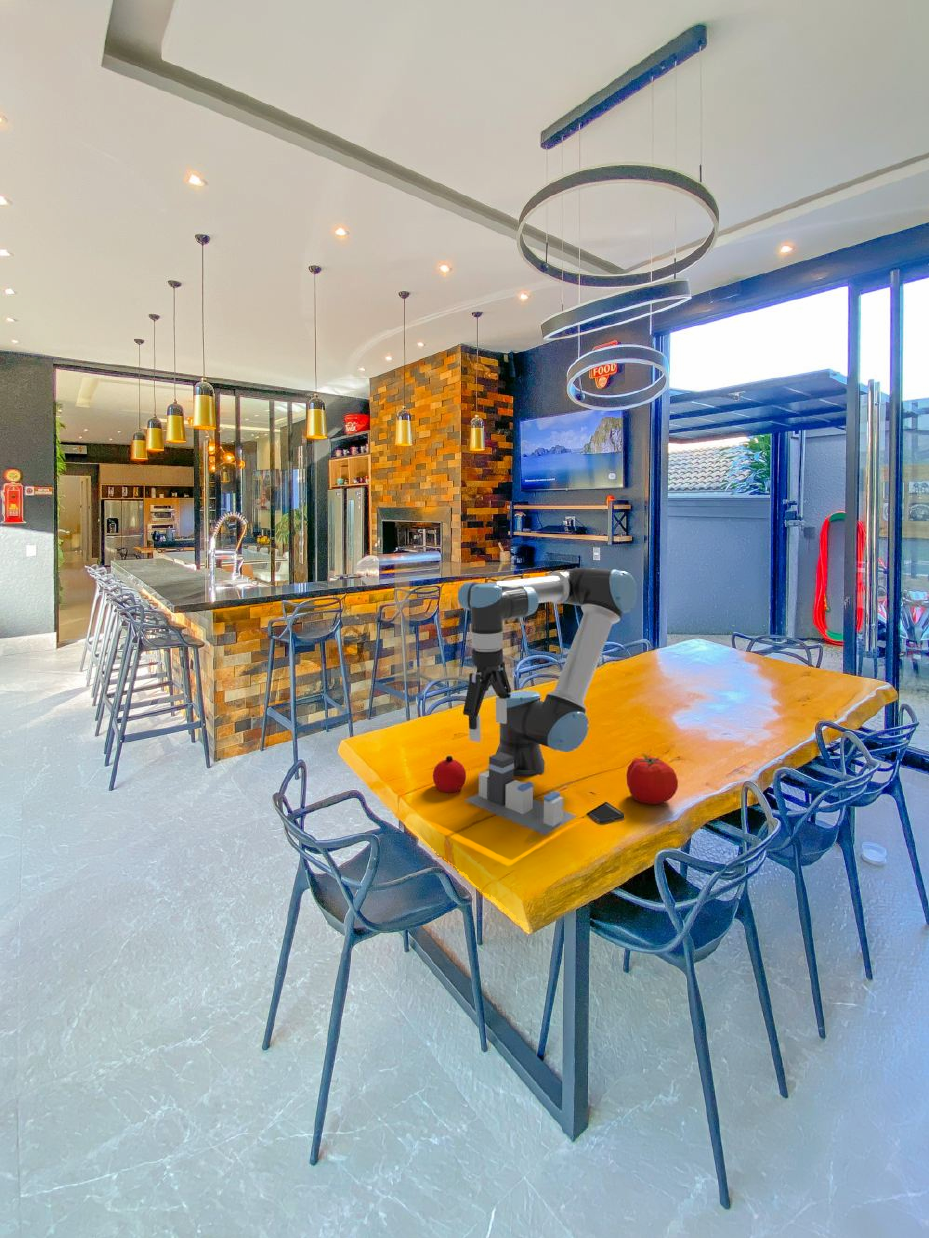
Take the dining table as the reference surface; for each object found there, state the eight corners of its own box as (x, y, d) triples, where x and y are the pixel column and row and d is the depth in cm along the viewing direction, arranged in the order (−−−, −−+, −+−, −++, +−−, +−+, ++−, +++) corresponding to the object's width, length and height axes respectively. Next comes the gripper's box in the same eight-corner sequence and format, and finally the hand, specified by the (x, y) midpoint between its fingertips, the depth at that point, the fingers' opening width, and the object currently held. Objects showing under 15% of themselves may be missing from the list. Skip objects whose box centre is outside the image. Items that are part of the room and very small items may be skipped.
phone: (590, 791, 173) (626, 815, 159) (590, 795, 173) (626, 819, 159) (566, 796, 169) (600, 821, 156) (566, 800, 170) (600, 825, 156)
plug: (500, 794, 170) (500, 751, 168) (513, 800, 167) (514, 756, 165) (488, 800, 166) (488, 756, 164) (501, 806, 163) (502, 761, 161)
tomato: (637, 785, 178) (639, 746, 176) (684, 800, 169) (687, 758, 167) (616, 800, 169) (618, 759, 167) (664, 816, 160) (667, 773, 158)
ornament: (472, 789, 175) (472, 754, 174) (453, 801, 168) (453, 765, 166) (445, 781, 180) (445, 747, 179) (426, 793, 173) (425, 758, 171)
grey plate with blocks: (497, 788, 176) (497, 761, 175) (576, 819, 158) (577, 790, 157) (464, 803, 167) (464, 775, 166) (544, 839, 149) (545, 807, 148)
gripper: (497, 636, 167) (498, 713, 171) (446, 658, 146) (449, 746, 150) (523, 638, 163) (524, 717, 167) (475, 662, 142) (477, 752, 146)
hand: (488, 731), depth 159 cm, fingers open, 13 cm apart
